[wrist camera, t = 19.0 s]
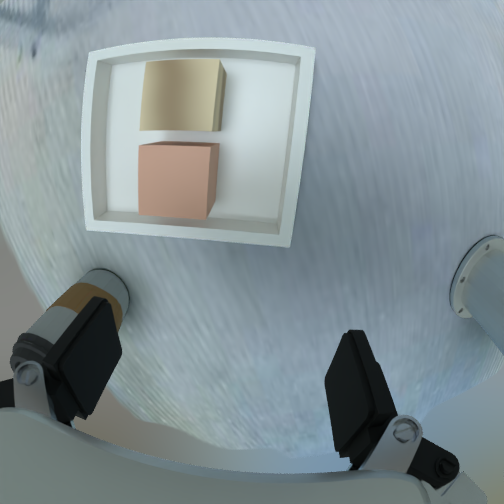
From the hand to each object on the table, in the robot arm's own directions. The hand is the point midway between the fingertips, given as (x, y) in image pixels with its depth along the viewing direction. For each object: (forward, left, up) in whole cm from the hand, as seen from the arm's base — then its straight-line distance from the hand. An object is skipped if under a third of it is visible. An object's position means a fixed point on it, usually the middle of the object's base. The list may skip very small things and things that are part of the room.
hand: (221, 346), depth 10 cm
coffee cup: (+15, +10, -16) cm, 24 cm away
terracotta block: (+5, -4, -15) cm, 16 cm away
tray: (+5, -7, -16) cm, 18 cm away
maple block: (+5, -10, -15) cm, 19 cm away
